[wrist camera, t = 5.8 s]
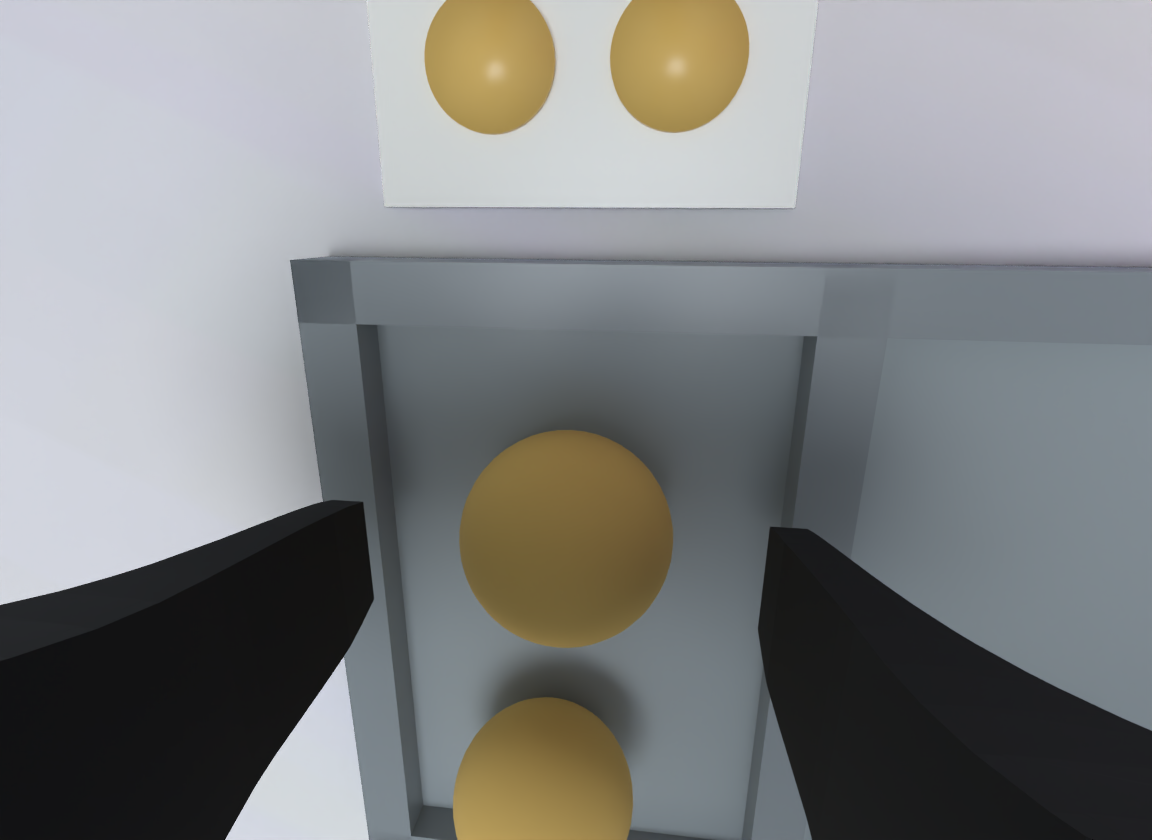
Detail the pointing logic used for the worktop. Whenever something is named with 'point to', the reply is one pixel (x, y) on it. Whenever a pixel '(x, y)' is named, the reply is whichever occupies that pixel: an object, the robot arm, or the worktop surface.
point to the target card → (591, 102)
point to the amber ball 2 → (543, 777)
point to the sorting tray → (731, 490)
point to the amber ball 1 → (566, 538)
